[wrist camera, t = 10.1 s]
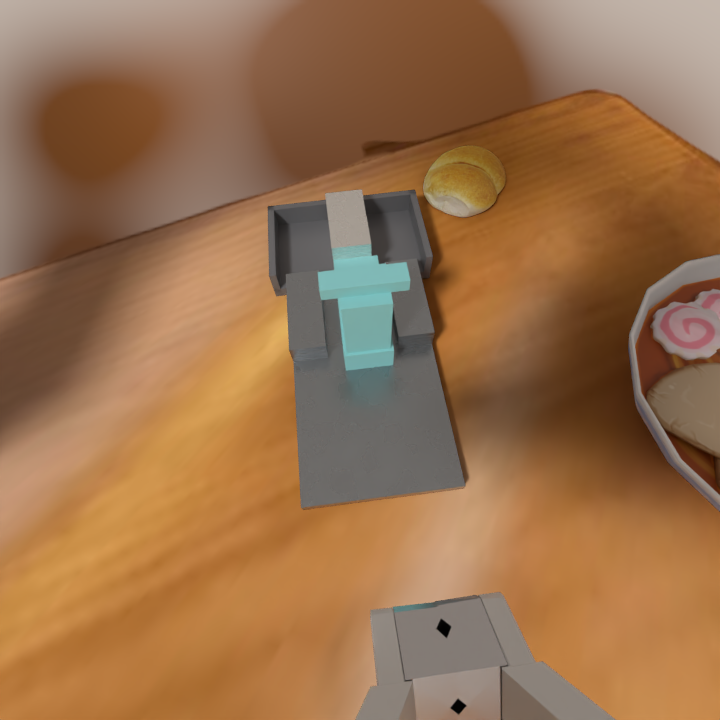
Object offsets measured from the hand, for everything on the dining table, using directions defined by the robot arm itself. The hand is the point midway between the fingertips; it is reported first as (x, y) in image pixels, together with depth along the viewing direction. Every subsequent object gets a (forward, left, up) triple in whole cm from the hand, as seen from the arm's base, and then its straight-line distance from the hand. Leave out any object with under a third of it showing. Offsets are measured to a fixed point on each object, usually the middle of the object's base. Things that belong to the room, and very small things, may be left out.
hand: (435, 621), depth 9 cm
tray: (0, +31, -21) cm, 37 cm away
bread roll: (+14, +38, -21) cm, 45 cm away
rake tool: (0, +22, -20) cm, 29 cm away
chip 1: (0, +32, -20) cm, 37 cm away
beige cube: (0, +28, -20) cm, 35 cm away
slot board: (0, +16, -21) cm, 26 cm away
